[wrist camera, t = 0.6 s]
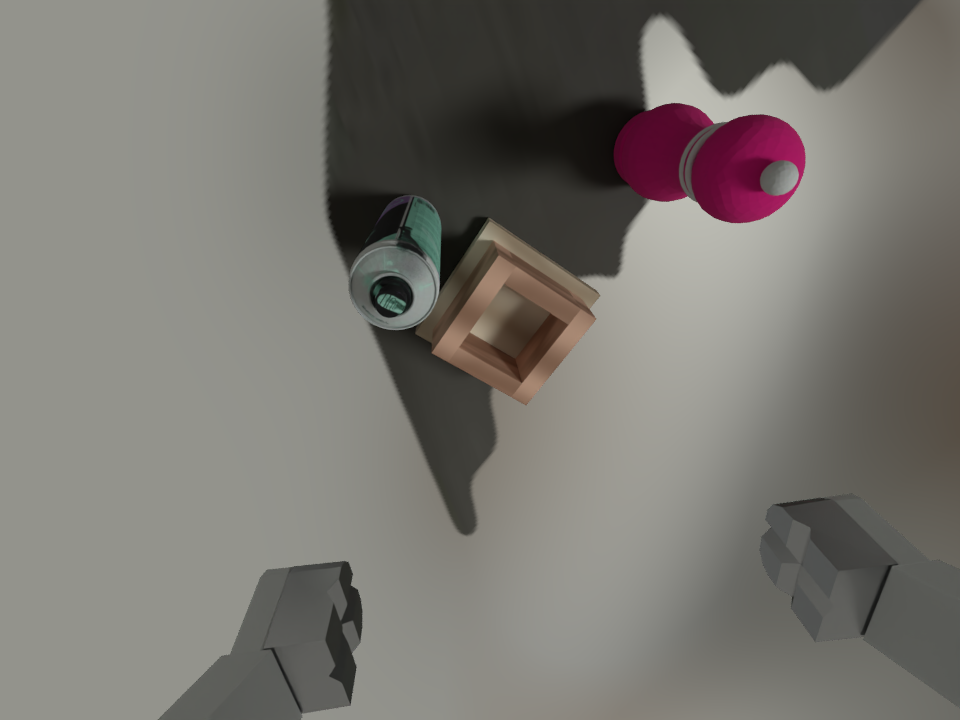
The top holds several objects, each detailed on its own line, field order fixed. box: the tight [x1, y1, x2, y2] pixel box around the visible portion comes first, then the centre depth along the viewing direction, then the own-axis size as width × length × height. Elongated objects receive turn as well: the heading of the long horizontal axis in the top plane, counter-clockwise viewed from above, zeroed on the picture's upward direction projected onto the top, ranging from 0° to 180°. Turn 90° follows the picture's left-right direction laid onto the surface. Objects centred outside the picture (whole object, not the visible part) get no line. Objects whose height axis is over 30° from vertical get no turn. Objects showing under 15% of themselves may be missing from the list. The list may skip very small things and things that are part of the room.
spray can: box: [349, 195, 441, 330], centre depth 36 cm, size 6×6×20 cm
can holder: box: [415, 217, 600, 405], centre depth 46 cm, size 13×13×6 cm
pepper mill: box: [614, 103, 805, 223], centre depth 34 cm, size 7×7×20 cm
